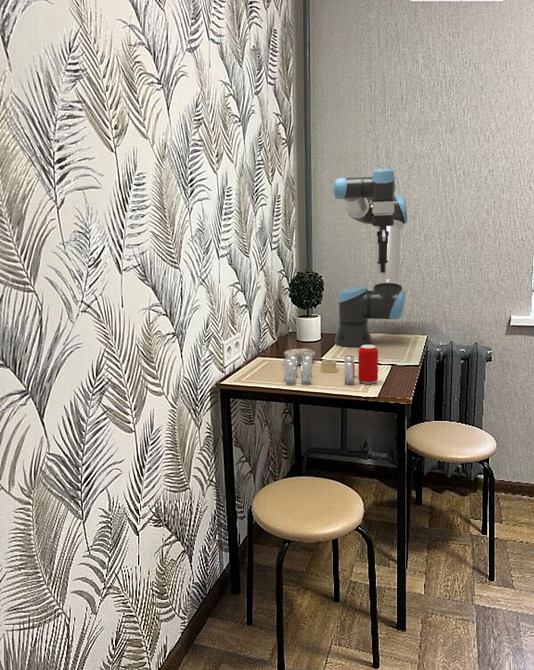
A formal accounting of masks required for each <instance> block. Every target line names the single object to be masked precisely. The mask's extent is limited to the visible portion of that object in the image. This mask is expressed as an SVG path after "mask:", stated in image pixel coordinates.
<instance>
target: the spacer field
mask: <svg viewBox="0 0 534 670" xmlns="http://www.w3.org/2000/svg"><path fill="white" fill-rule="evenodd" d="M343 363H344V365H343V366H344V385H346V386H352V385H353V386H354V385H355V370H356V369H355V365H356V364H355V356H353V355H345V356H344V362H343ZM298 367H299V365H297V356H288V359H285V358H284V359H283V378H284V379H283V380H284V381H285V383H286V385H290V386H292V385H296V384H297V378H298V377H299V374H298V373H299V372H298ZM300 373H301V374H300V377H301V379H300V380H301V382H300V383H301V385H304V386H305V385H306V386H308V385H311V384H312V378H313V359H312V356H303V362H301V364H300Z"/></svg>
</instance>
